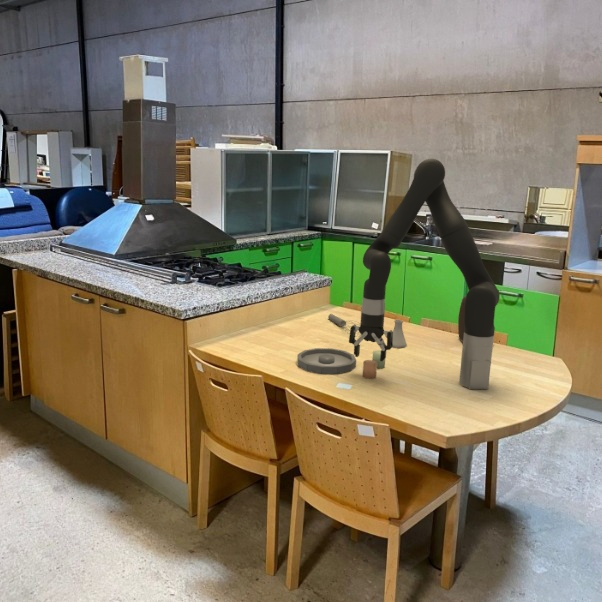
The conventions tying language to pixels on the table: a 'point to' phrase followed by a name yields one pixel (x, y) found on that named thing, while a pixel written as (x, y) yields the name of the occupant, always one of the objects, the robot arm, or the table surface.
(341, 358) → the ring tray
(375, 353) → the pale green rounded cylinder
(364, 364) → the terracotta bead
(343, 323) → the kitchen whisk
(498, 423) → the table surface
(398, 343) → the flask
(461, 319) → the small grey backpack
